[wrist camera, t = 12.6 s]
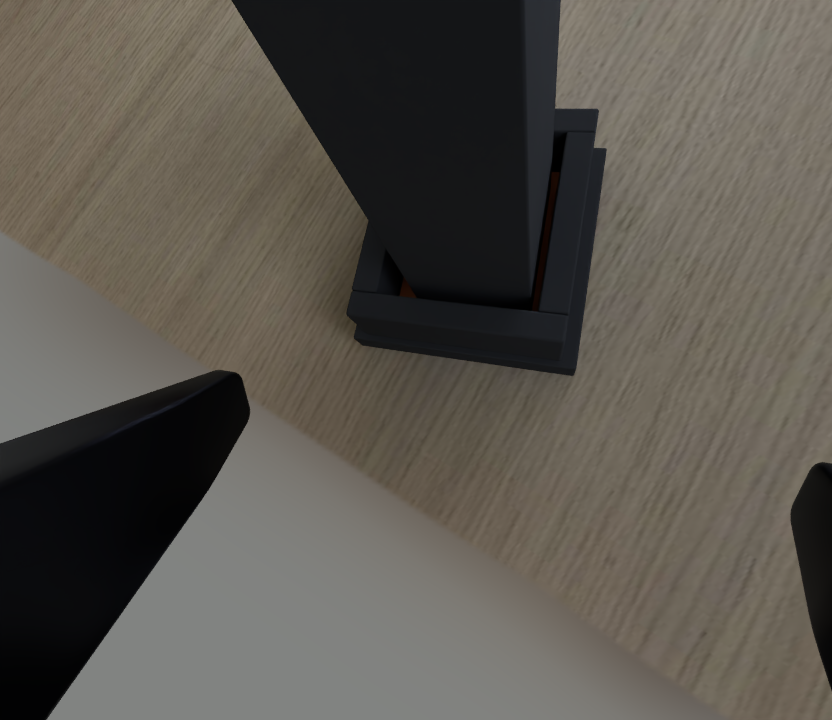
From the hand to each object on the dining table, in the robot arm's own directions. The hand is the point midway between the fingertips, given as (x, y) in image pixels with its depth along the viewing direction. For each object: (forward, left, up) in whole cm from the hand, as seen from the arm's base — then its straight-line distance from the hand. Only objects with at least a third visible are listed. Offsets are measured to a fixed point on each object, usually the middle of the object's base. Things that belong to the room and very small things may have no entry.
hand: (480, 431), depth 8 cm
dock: (+8, +2, -9) cm, 12 cm away
